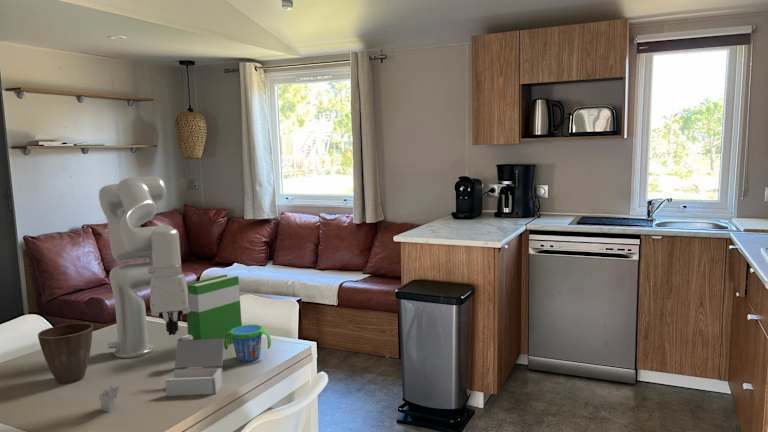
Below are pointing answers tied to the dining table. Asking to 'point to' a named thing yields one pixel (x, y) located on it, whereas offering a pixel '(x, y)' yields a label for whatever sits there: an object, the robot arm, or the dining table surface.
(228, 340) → the hardback book
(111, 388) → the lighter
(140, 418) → the dining table surface
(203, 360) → the cover
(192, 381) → the open box
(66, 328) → the plant pot
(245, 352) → the snack cup
